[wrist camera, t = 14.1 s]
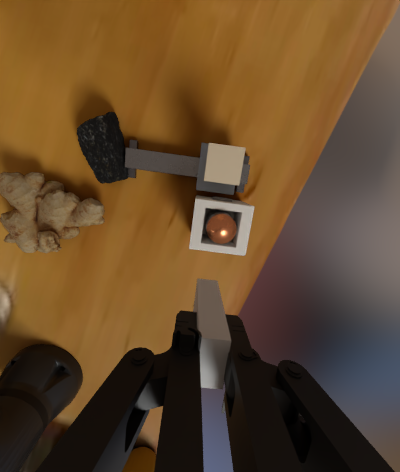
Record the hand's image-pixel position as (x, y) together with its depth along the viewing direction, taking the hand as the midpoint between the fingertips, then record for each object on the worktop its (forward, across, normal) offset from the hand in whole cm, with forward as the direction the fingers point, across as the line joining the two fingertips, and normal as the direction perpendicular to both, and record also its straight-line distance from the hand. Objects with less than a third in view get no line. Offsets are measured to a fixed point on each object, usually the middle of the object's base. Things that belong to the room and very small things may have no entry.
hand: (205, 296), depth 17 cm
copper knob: (+20, +3, +3) cm, 20 cm away
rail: (+25, -3, +11) cm, 27 cm away
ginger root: (+25, -26, 0) cm, 36 cm away
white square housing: (+25, +3, +3) cm, 25 cm away
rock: (+25, -17, +12) cm, 32 cm away
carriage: (+25, +2, +11) cm, 27 cm away
